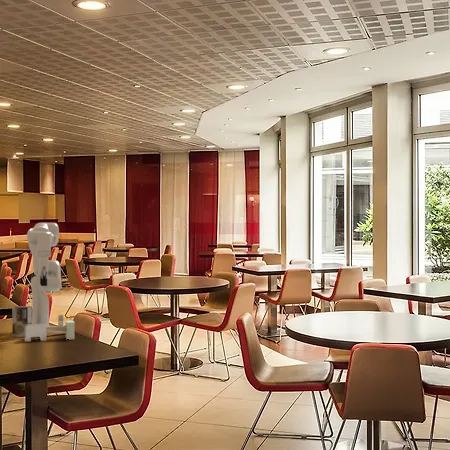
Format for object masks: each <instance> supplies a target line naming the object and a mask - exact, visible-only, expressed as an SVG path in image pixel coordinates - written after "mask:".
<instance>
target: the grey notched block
mask: <svg viewBox="0 0 450 450" xmlns="http://www.w3.org/2000/svg"><path fill="white" fill-rule="evenodd" d="M38 337H39V340H40V342H45V341H47V340H48V339H47V337H48V334H47V325H46V324H25V337H24V342H32V338H38Z"/></svg>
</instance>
